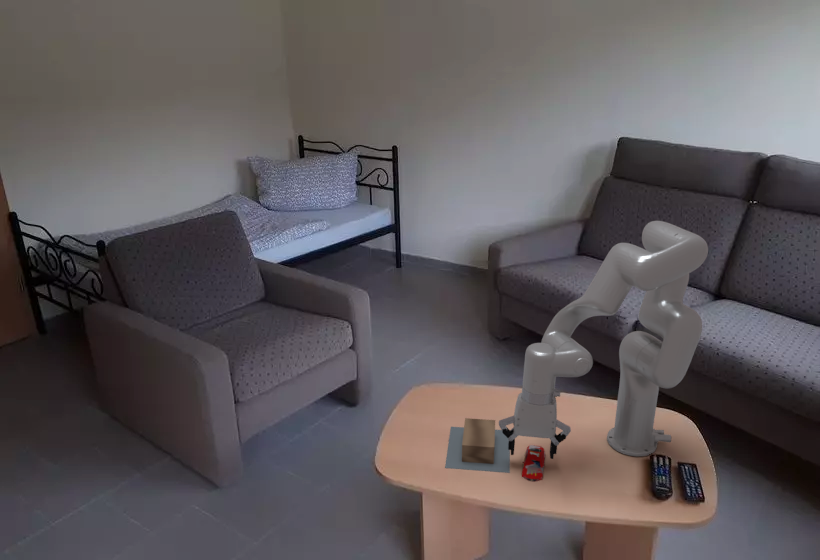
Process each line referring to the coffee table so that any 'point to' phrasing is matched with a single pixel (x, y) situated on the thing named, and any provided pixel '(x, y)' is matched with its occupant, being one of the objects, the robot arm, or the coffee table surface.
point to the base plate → (499, 463)
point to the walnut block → (478, 441)
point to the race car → (533, 463)
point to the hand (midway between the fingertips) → (531, 453)
